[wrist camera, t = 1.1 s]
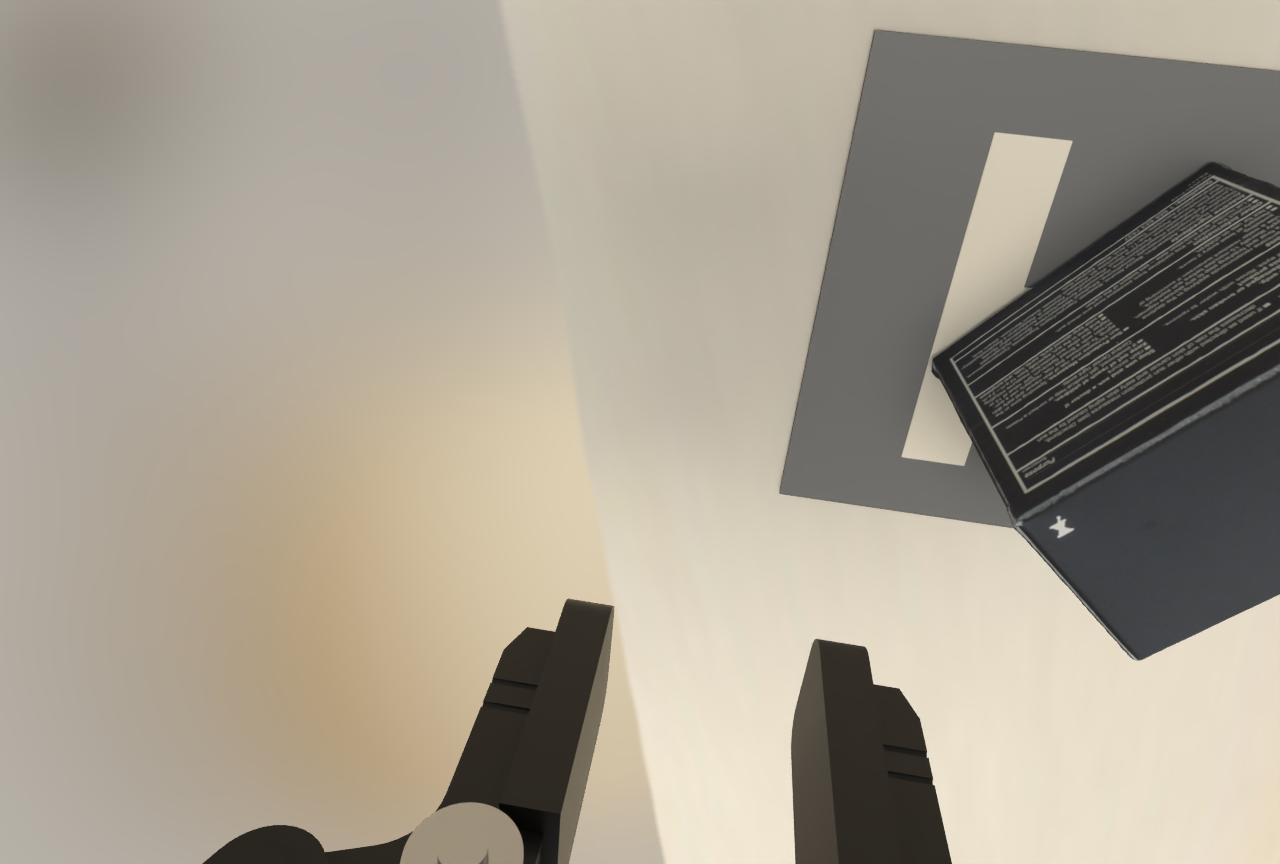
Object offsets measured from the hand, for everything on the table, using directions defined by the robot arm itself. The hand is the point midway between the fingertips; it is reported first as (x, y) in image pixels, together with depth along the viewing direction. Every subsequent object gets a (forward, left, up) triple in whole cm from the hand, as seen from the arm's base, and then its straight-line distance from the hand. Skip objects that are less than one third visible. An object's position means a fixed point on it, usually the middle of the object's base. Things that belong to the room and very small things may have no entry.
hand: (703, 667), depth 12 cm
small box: (0, +13, -19) cm, 23 cm away
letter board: (0, +13, -19) cm, 23 cm away
